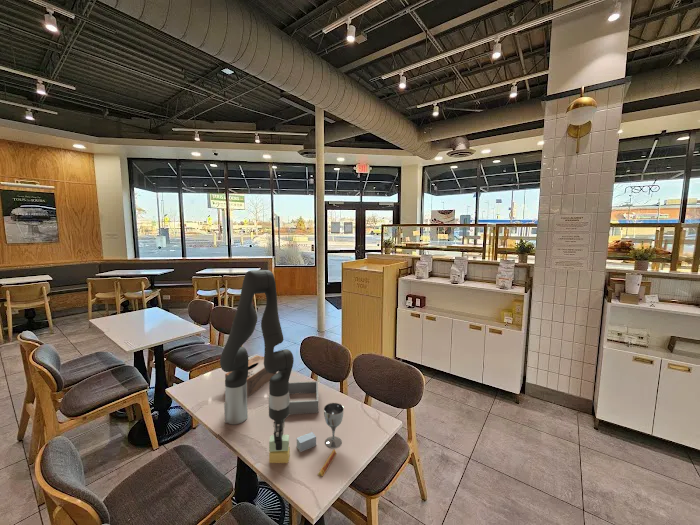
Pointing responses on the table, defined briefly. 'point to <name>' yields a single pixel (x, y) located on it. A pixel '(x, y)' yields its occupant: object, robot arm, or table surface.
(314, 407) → the frame
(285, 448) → the sage brick
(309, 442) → the slate brick
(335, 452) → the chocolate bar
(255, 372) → the tissue box cover
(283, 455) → the ochre brick
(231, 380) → the robot arm
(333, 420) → the wine glass
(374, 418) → the table surface
